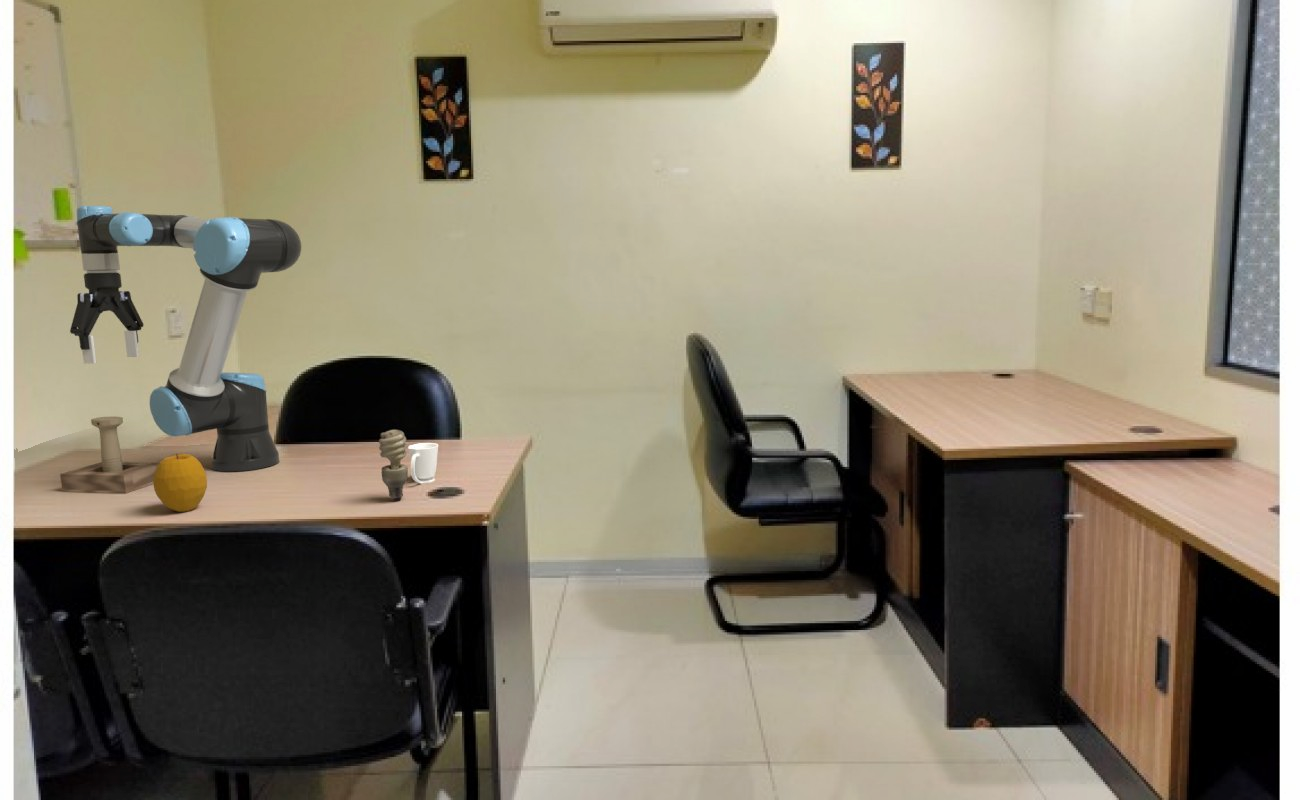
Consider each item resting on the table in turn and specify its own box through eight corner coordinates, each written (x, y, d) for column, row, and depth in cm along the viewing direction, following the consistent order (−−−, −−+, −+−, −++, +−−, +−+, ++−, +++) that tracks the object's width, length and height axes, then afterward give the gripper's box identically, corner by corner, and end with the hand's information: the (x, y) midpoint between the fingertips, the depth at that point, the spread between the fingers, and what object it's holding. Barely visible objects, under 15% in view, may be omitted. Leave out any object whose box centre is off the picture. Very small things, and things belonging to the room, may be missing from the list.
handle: (117, 486, 195) (109, 420, 193) (94, 485, 197) (86, 419, 194) (134, 481, 200) (127, 417, 197) (112, 480, 201) (104, 416, 199)
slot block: (164, 479, 203) (163, 463, 202) (125, 493, 191) (123, 475, 190) (104, 478, 205) (102, 461, 205) (62, 491, 194) (60, 474, 193)
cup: (446, 477, 200) (444, 442, 199) (428, 488, 190) (426, 452, 189) (417, 476, 201) (414, 442, 200) (398, 487, 192) (396, 451, 190)
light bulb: (413, 501, 180) (409, 430, 178) (387, 505, 177) (382, 433, 175) (405, 495, 185) (400, 426, 183) (379, 499, 182) (374, 429, 180)
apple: (171, 503, 182) (165, 448, 180) (218, 502, 183) (213, 447, 181) (147, 517, 172) (140, 459, 171) (197, 515, 173) (191, 457, 171)
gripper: (127, 271, 222) (136, 354, 225) (44, 273, 198) (56, 366, 201) (153, 270, 221) (162, 354, 224) (73, 272, 196) (84, 366, 200)
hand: (112, 360), depth 213 cm, fingers open, 13 cm apart
